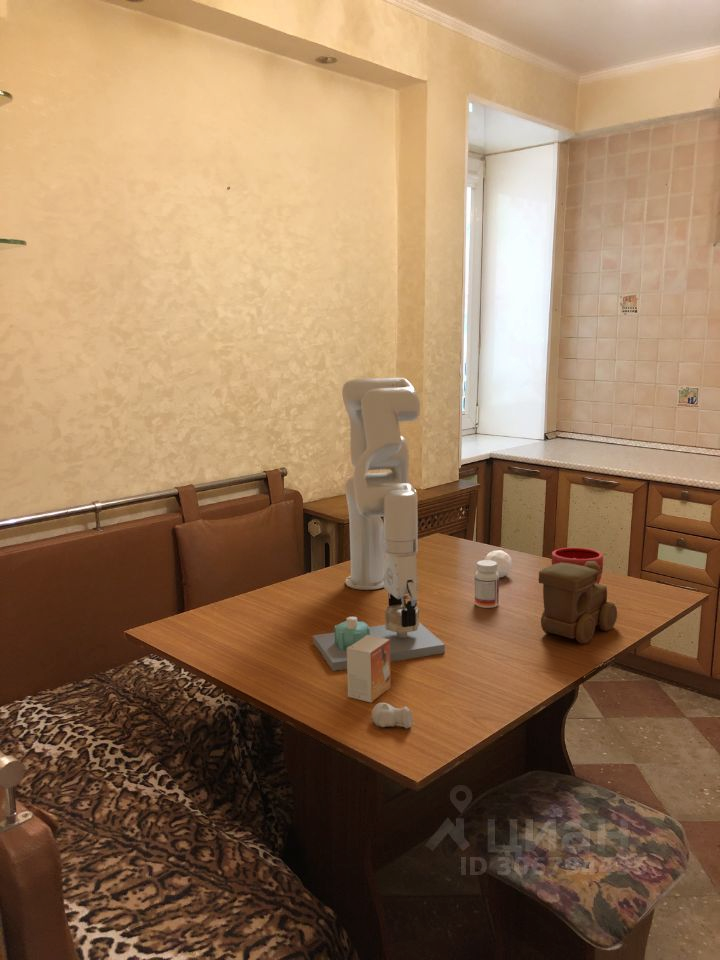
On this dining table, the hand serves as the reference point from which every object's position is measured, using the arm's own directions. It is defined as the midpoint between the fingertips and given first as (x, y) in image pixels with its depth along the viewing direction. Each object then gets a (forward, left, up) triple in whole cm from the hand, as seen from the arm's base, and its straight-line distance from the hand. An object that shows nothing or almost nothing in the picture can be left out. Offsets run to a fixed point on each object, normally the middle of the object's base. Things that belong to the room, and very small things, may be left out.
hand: (402, 619), depth 181 cm
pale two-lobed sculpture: (+34, -16, -6) cm, 38 cm away
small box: (+20, -15, -6) cm, 26 cm away
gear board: (0, -6, -6) cm, 9 cm away
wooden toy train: (+9, +41, -6) cm, 42 cm away
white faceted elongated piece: (-37, +44, -6) cm, 58 cm away
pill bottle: (-16, +30, -6) cm, 35 cm away
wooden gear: (0, 0, -2) cm, 2 cm away
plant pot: (-13, +55, -6) cm, 57 cm away
